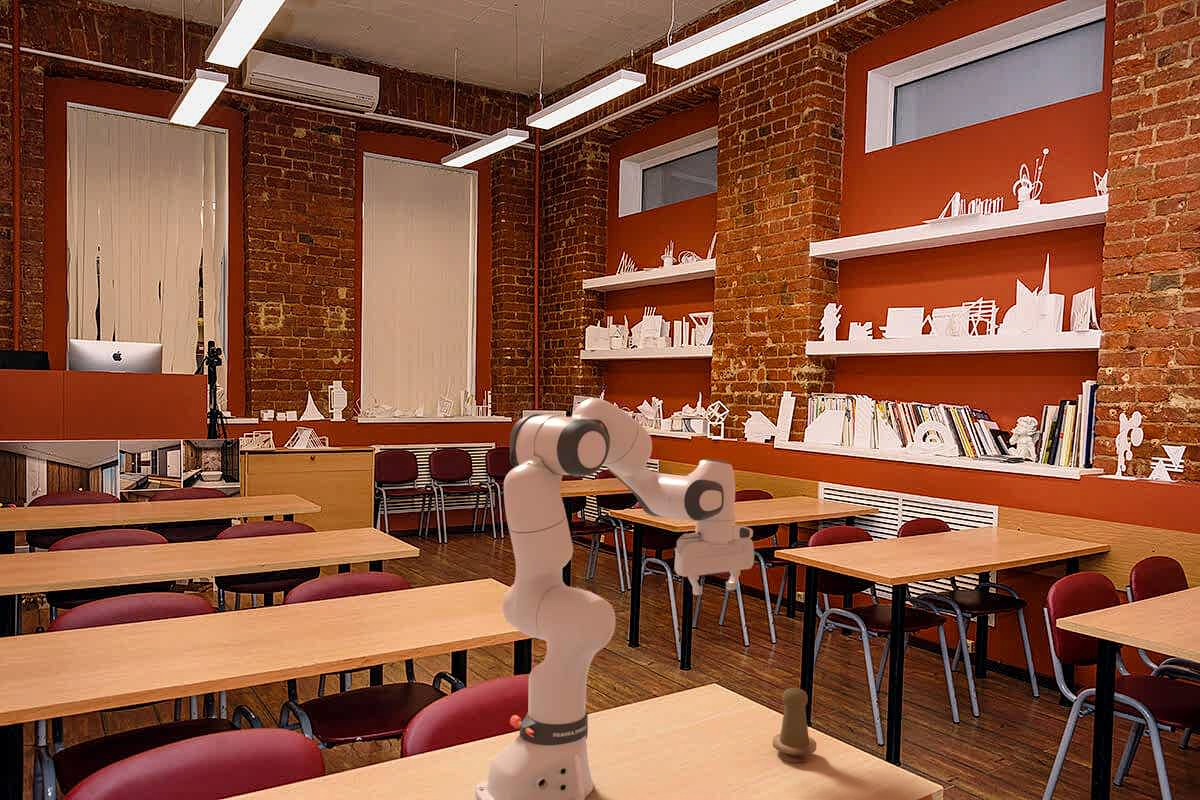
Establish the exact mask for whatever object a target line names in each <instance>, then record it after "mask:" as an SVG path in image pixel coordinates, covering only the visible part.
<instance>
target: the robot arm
mask: <svg viewBox="0 0 1200 800" xmlns="http://www.w3.org/2000/svg"><path fill="white" fill-rule="evenodd" d="M652 450H653V441H652V437H651V435H650V434H649V432H648V431H647V429H645V427H643V425H642V424H640V423H639V422H638V421H637V420H636V419H635V418H633V416H631V415H630V414H628V413H627V412H625V411H624V410H622V409H621V408H619V407H618V406H617V405H615V404H612V402H610V401H607V400H604V399H602V398H599V397H591V398H588V399H585V400H583V401H582V402H581V403H579V404H578V405H577V407H575V409H574V411H572V415H571V416H565V415H562V414H540V413H535V414H530V415H527V416H526V415H525V416H524V417H521V418H519V420H517V421H516V423H515V424H514V425H513V427H512V429H511V432H510V437H509V452H510V454H509V461H510V463H511V466H512V467H513V468H512V469H511V470H509V472H508V473H507V474H506V476H505V478H504V480H503V499H504V500H503V502H504V509H505V510H504V511H505V517H506V521H507V527H508V531H509V532H508V533H509V536H510V541H511V545H512V550H513V555H514V561H515V578H514V583H513V584H512V585H511V586H510V587H509V588H508V590H507V592H506V594H505V595H504V598H503V605H502V610H503V615H504V619H505V621H506V622H507V623H508V624H509V625H510V626H512V627H513V628H515V629H516V630H518V631H519V632H520V633H522V634H524V635H526V636H529V637H532V638H536V639H538V640H543V641H545V643H546V653H545V656H544V660H543V661H541V662H540V663H538V664H537V665H535V666H534V667H532V670H531V671H530V673H529V675H528V702H527V703H528V706H527V707H528V711H527V713H526V714H525V717H524V718H523V719H522V718H521V717H520V716H518V715H517V714H515V715H512V716H510V717H511V718H510V719H509V724H510V725H511V726H512V727H514V729H516V730H517V729H519V734H518V735H517V736H516V737H515V738H514V739H512V741H510V742H509V743H508V744H507V745H506V746H505V747H504V748H503V749H501V750H500V752H498V753H497V754H496V755H495V756H494V757H493V758H492V760H491V761H490V764H489V768H488V776H487V779H485V780H482V781H480V782H477V785H476V788H475V796H476V799H477V800H586V797H588V795H590V794H591V793H592V791H593V790H594V781H593V778H592V774H591V771H590V765H589V758H588V749H587V739H588V734H589V733H588V732H589V727H588V726H589V719H588V717H589V716H588V715H589V714H588V712H587V711H586V709H587V708H586V703H587V701H586V700H587V682H588V681H587V680H588V678H587V677H588V673H589V670H590V666H591V663H592V661H593V658H594V657H595V656H596V654H597V653H598V652H599V651H600V650H602V649H603V648H604V647H605V646H606V645H608V644H609V642H610V641H611V639H612V637H613V635H614V633H615V629H616V620H617V619H616V614H615V610H614V607H613V605H612V604H611V603H610V602H609V601H607V600H606V599H605V598H602V597H601V596H599V595H597V594H595V593H593V592H592V591H589V590H584V589H582V588H577V587H572V586H568V585H566V584H565V582H564V581H563V577H562V575H563V574H562V569H563V568H565V566H566V565H567V564H568V563H569V562H570V560H571V559H572V558H573V553H574V547H573V546H574V545H573V542H572V541H573V540H572V536H571V531H570V526H569V522H568V518H567V514H566V513H567V512H566V508H565V506H564V505H565V504H564V502H563V497H562V495H561V488H562V487H561V486H562V485H561V484H562V479H563V476H572V477H575V478H576V477H577V478H578V477H586V476H590V475H593V474H595V473H597V472H598V471H599V470H600V469H601V468H602V466H603V465H604V467H607V469H608V471H609V472H610V473H611V474H612V475H614V477H615V478H616V479H617V480H618V481H620V482H621V483H622V484H623V485H624V486H625V487H626V488H627V489H628V490H629V491H631V492H632V494H633V495H634V496H635V498H636V499H637V501H638V503H639V505H640V507H641V508H642V510H643V511H644V512H645V514H647V515H648V516H651V517H658V518H659V517H661V518H671V519H678V520H682V521H683V520H684V521H689V522H690V521H691V522H695V529H694V530H695V532H692V533H683V534H682V535H681V536H679V538H678V539H677V540H676V552H675V558H674V572H675V573H676V574H677V575H678V576H681V577H684V578H686V577H687V579H688V581H689V582H690V585H691V586H692V595H695V596H699V595H703V589H704V588H703V586H700V585H699V582H698V581H699V580H700V576H701V575H702V576H703V575H710V574H711V575H712V574H717V573H719V574H720V573H726V572H729V574H730V576H729V579H728V580H727V581H725V589H726V591H727V590H728V591H736V587H737V584H736V583H737V581H738V580H739V577H740V576H741V570H750V569H752V567H753V565H754V564H755V548H754V547H755V546H754V545H755V544H754V542H753V539H751V538H752V537H753V536H754V535H753V534H754V530H753V529H752V528H750V527H747V526H744V525H740V524H739V523H736V515H735V511H734V506H735V501H736V481H735V480H736V479H735V471H734V469H733V465H732V464H731V463H729V462H728V461H725V460H724V461H723V460H717V459H710V458H705V459H701V460H699V462H698V466H697V467H696V468H695V469H694V470H693V471H692V472H689V474H687V475H679V474H671V473H670V474H669V473H665V472H660V471H652V470H651V469H650V468H649V467H648V466H647V463H648V462H649V459H650V458H651V456H652Z"/></svg>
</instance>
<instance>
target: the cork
mask: <svg viewBox="0 0 1200 800" xmlns="http://www.w3.org/2000/svg"><path fill="white" fill-rule="evenodd" d="M781 698H782V703H783V704H784V708H783V709H784V710H783V717H782V724H781V730H780V734H781V736H780V742H781V743H782V744H783V745H785V746H788V747H793V748H803V747H807V746H808V745H809V737H810V736H809V731H808V730H809V728H808V722H807V721H808V720H807V713H806V706H807V705H808V702H809V697H808V694H807V692H806V691H805V690H804V689H801V688H799V687H789V688H786V689H785V690H784V691H783V692H782V697H781Z"/></svg>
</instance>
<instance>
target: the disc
mask: <svg viewBox="0 0 1200 800" xmlns="http://www.w3.org/2000/svg"><path fill="white" fill-rule="evenodd" d="M780 736H781V733H779V734H775V736H773V737H772V747H773V748H775V749H776V750H777V751H776V754H777V755H776V756H777V758H779V760H781V761H783V762H786V763H789V764H806V763H808V762H810V761H812V753H815V751H816V750H817V742H816V740H815V739H814V738H812V737H810V736H809V745H808V746H807V747H803V748H793V747H788V746H785V745H783V744H782V743H781V742H780Z"/></svg>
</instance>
